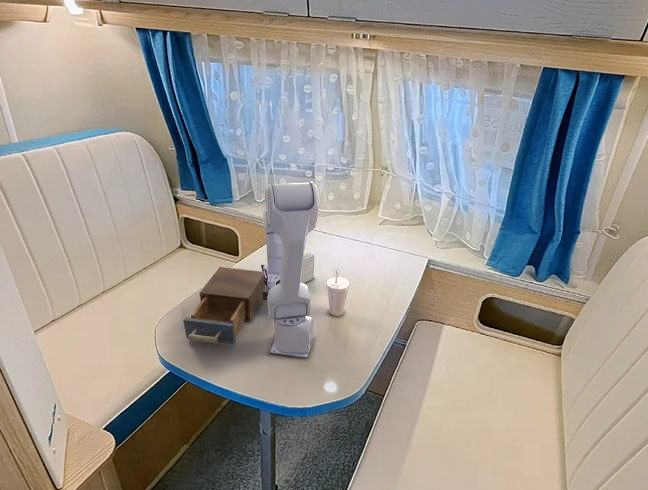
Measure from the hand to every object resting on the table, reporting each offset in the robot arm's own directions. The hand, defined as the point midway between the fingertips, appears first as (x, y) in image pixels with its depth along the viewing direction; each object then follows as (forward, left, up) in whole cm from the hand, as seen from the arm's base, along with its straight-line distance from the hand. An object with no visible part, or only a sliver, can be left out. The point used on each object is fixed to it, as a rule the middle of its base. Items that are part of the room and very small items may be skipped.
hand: (279, 296), depth 120 cm
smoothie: (-16, -2, -4) cm, 17 cm away
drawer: (+13, +14, -4) cm, 19 cm away
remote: (0, 0, 0) cm, 0 cm away
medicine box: (-3, -17, -5) cm, 18 cm away
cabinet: (+13, 0, -4) cm, 14 cm away
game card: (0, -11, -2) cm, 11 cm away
